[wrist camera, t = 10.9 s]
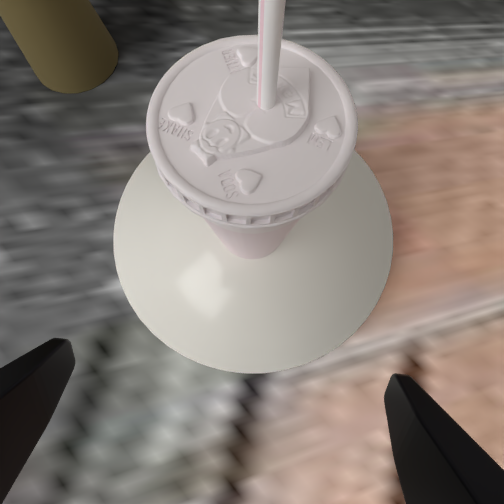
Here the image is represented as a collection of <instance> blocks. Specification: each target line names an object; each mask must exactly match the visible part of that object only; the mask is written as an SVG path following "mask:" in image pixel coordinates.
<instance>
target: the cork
mask: <svg viewBox="0 0 504 504" xmlns="http://www.w3.org/2000/svg"><path fill="white" fill-rule="evenodd" d="M0 16H1V17H2V19H3V21H4V22H5V24H6V26H7V27H8V29H9V31H10V32H11V34H12V36H13V37H14V39H15V41H16V42H17V44H18V46H19V47H20V49H21V51H22V52H23V54H24V56H25V57H26V59H27V61H28V62H29V64H30V66H31V67H32V69H33V71H34V72H35V74H36V76H37V77H38V78H39V80H40V81H41V83H42V84H43V85H45V86H46V87H48V88H50V89H51V90H53V91H57V92H61V93H80V92H84V91H87V90H91V89H93V88H95V87H96V86H98V85H100V84H102V83H103V82H104V81H105V80H106V79H107V78H108V77H109V76H110V75H111V74H112V73H113V71H114V69H115V67H116V65H117V62H118V50H117V46H116V43H115V42H114V40H113V38H112V37H111V35H110V34H109V32H108V30H107V29H106V27H105V25H104V24H103V22H102V21H101V19H100V17H99V16H98V14H97V13H96V11H95V9H94V8H93V6H92V5H91V3H90V1H89V0H0Z"/></svg>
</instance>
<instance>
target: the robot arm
mask: <svg viewBox="0 0 504 504" xmlns="http://www.w3.org/2000/svg"><path fill="white" fill-rule="evenodd" d="M74 366H75V357H74V353H73V349H72V345H71V342H70V341H69V340H68V339H62V338H53V339H51V340H49V341H47V342H45V343H44V344H42V345H40V346H38V347H37V348H35V349H33V350H31V351H30V352H28V353H26V354H24V355H23V356H21V357H19V358H17V359H16V360H14V361H12V362H10V363H9V364H7V365H5V366H4V367H2V368H0V504H2V503H3V501H4V499H5V498H6V496H7V494H8V492H9V491H10V489H11V487H12V485H13V484H14V482H15V480H16V479H17V477H18V475H19V473H20V472H21V470H22V468H23V466H24V465H25V463H26V461H27V460H28V458H29V456H30V454H31V453H32V451H33V449H34V448H35V446H36V444H37V442H38V441H39V439H40V437H41V435H42V434H43V432H44V430H45V429H46V427H47V425H48V423H49V421H50V419H51V417H52V415H53V413H54V411H55V409H56V407H57V404H58V402H59V400H60V398H61V396H62V394H63V391H64V389H65V387H66V385H67V383H68V380H69V378H70V376H71V374H72V372H73V369H74ZM384 403H385V409H386V415H387V421H388V427H389V433H390V439H391V445H392V451H393V456H394V461H395V465H396V469H397V473H398V476H399V480H400V484H401V487H402V491H403V495H404V498H405V502H406V504H504V470H503V469H502V468H501V467H500V466H499V465H498V464H497V463H496V462H495V461H494V460H493V459H492V458H491V457H490V456H489V455H488V454H487V453H486V452H485V451H484V450H483V449H482V448H481V447H480V446H479V445H478V444H477V443H476V442H475V441H474V440H473V439H472V438H471V437H470V436H469V435H468V434H467V433H466V432H465V431H464V430H463V429H462V428H461V427H460V426H459V425H458V424H457V423H456V422H455V421H454V420H453V419H452V418H451V417H450V416H449V415H448V414H447V413H446V412H445V411H444V410H443V409H442V408H441V407H440V406H439V405H438V404H437V403H436V402H435V401H434V400H433V399H432V397H431V396H430V395H429V394H428V393H427V392H426V391H425V390H424V389H423V388H422V387H421V386H420V385H419V384H418V383H417V382H416V381H415V380H414V379H413V378H412V377H410V376H409V375H406V374H396V373H395V374H393V375H392V376H391V378H390V381H389V383H388V386H387V388H386V391H385V395H384Z"/></svg>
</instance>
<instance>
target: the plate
mask: <svg viewBox="0 0 504 504" xmlns="http://www.w3.org/2000/svg"><path fill="white" fill-rule="evenodd" d="M392 254H393V229H392V221H391V215H390V211H389V208H388V204H387V200H386V198H385V196H384V193H383V191H382V188H381V186H380V184H379V182H378V181H377V179H376V177H375V175H374V174H373V172H372V170H371V169H370V168H369V166H368V165H367V164H366V162H365V161H364V160H363V158H362V157H361V156H360V155H359V154H358V153H357V152H356V151H355V150H354V151H353V154H352V157H351V159H350V162H349V164H348V167H347V169H346V171H345V173H344V176H343V178H342V180H341V182H340V184H339V185H338V187H337V188H336V189H335V190H334V191H333V192H332V194H331V195H330V196H329V197H328V198H327V199H326V201H325V202H324V203H323V204H321V205H320V206H318V207H317V208H315V209H314V210H312V211H311V212H309V213H308V214H306V215H305V216H303V217H302V218H300V219H299V221H298V222H297V223H296V224H295V226H294V227H293V228H292V229H291V231H290V232H289V233H288V235H287V236H286V237H285V238H284V240H283V241H282V242H281V243H280V245H279V246H278V247H277V248H276V249H275V250H274V251H273V252H272V253H271V254H269V255H267V256H265V257H263V258H259V259H245V258H241V257H238V256H236V255H234V254H233V253H232V252H230V251H229V250H228V249H227V248H226V246H225V245H224V244H223V243H222V241H221V240H220V239H219V237H218V236H217V235H216V234H215V232H214V231H213V230H212V229H211V227H210V226H209V225H208V223H207V222H206V221H205V220H204V218H203V217H201V216H199V215H197V214H195V213H193V212H192V211H190V210H189V209H188V208H187V207H186V206H184V205H183V204H182V203H181V202H180V201H178V200H177V199H176V198H175V197H173V195H172V194H171V192H170V191H169V189H168V188H167V186H166V185H165V184H164V182H163V181H162V179H161V178H160V176H159V174H158V170H157V167H156V164H155V161H154V159H153V156H152V154H151V152H150V153H149V154H148V155H147V156H146V157H145V158H144V159H143V161H142V162H141V163H140V165H139V166H138V167H137V169H136V170H135V171H134V173H133V175H132V177H131V178H130V180H129V182H128V184H127V185H126V188H125V190H124V193H123V195H122V197H121V200H120V203H119V207H118V210H117V214H116V218H115V227H114V257H115V263H116V269H117V273H118V276H119V279H120V282H121V286H122V288H123V290H124V292H125V295H126V297H127V299H128V301H129V303H130V305H131V306H132V308H133V309H134V311H135V312H136V314H137V315H138V317H139V318H140V320H141V321H142V322H143V323H144V324H145V325H146V326H147V327H148V329H149V330H150V331H151V332H152V333H153V334H154V335H155V336H156V337H158V338H159V339H160V340H161V341H162V342H164V343H165V344H166V345H167V346H168V347H170V348H172V349H173V350H175V351H176V352H178V353H180V354H181V355H183V356H184V357H186V358H189V359H191V360H193V361H195V362H198V363H200V364H202V365H205V366H209V367H212V368H216V369H219V370H223V371H230V372H237V373H269V372H277V371H284V370H287V369H291V368H294V367H298V366H301V365H304V364H307V363H309V362H311V361H313V360H316V359H318V358H320V357H322V356H324V355H325V354H327V353H329V352H330V351H332V350H333V349H335V348H337V347H338V346H340V345H341V344H342V343H343V342H344V341H345V340H347V339H348V338H349V337H350V336H351V335H353V334H354V333H355V332H356V330H357V329H358V328H359V327H360V326H361V325H362V324H363V323H364V321H365V320H366V319H367V318H368V316H369V315H370V313H371V312H372V310H373V309H374V307H375V306H376V304H377V302H378V300H379V298H380V296H381V294H382V292H383V290H384V287H385V285H386V281H387V278H388V275H389V272H390V267H391V261H392Z"/></svg>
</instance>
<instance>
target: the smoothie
mask: <svg viewBox="0 0 504 504" xmlns="http://www.w3.org/2000/svg"><path fill="white" fill-rule="evenodd" d="M284 10H285V0H259V10H258V35H240V36H233V37H228V38H223V39H219V40H216V41H213V42H210V43H208V44H205V45H202V46H200V47H199V48H197V49H195V50H193V51H191V52H190V53H188V54H186V55H185V56H184V57H182V58H181V59H180V60H178V61H177V62H176V63H175V64H174V65H173V66H172V67H171V68H170V69H169V70H168V71H167V72H166V73H165V75H164V76H163V77H162V79H161V80H160V82H159V83H158V85H157V87H156V88H155V91H154V93H153V95H152V97H151V100H150V103H149V107H148V111H147V119H146V133H147V140H148V144H149V148H150V151H151V154H152V156H153V159H154V161H155V164H156V167H157V170H158V174H159V176H160V178H161V179H162V181H163V182H164V184H165V185H166V186H167V188H168V189H169V191H170V192H171V194H172V195H173V197H175V198H176V199H177V200H178V201H180V202H181V203H182V204H183V205H184V206H186V207H187V208H188V209H189V210H190V211H192V212H193V213H195V214H197V215H199V216H201V217H203V218H204V220H205V221H206V222H207V223H208V225H209V226H210V227H211V229H212V230H213V231H214V232H215V234H216V235H217V236H218V237H219V239H220V240H221V241H222V243H223V244H224V245H225V246H226V248H227V249H228V250H229V251H230V252H232V253H233V254H234V255H236V256H238V257H241V258H245V259H259V258H263V257H265V256H267V255H269V254H271V253H272V252H273V251H274V250H275V249H276V248H277V247H278V246H279V245H280V243H281V242H282V241H283V240H284V238H285V237H286V236H287V235H288V233H289V232H290V231H291V229H292V228H293V227H294V226H295V224H296V223H297V222H298V221H299V219H300V218H302V217H303V216H305V215H306V214H308V213H309V212H311V211H312V210H314V209H315V208H317V207H318V206H320V205H321V204H323V203H324V202H325V201H326V199H327V198H328V197H329V196H330V195H331V194H332V192H333V191H334V190H335V189H336V188H337V187H338V185H339V184H340V182H341V180H342V178H343V176H344V173H345V171H346V169H347V167H348V164H349V162H350V159H351V157H352V154H353V151H354V148H355V144H356V140H357V133H358V119H357V112H356V107H355V103H354V100H353V97H352V95H351V93H350V91H349V89H348V87H347V85H346V83H345V82H344V80H343V79H342V78H341V76H340V75H339V74H338V72H337V71H336V70H335V69H334V68H333V67H332V66H331V65H330V64H329V63H328V62H327V61H325V60H324V59H323V58H321V57H320V56H319V55H317V54H316V53H314V52H313V51H311V50H309V49H307V48H305V47H303V46H301V45H299V44H296V43H294V42H291V41H288V40H284V39H282V30H283V20H284Z"/></svg>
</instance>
